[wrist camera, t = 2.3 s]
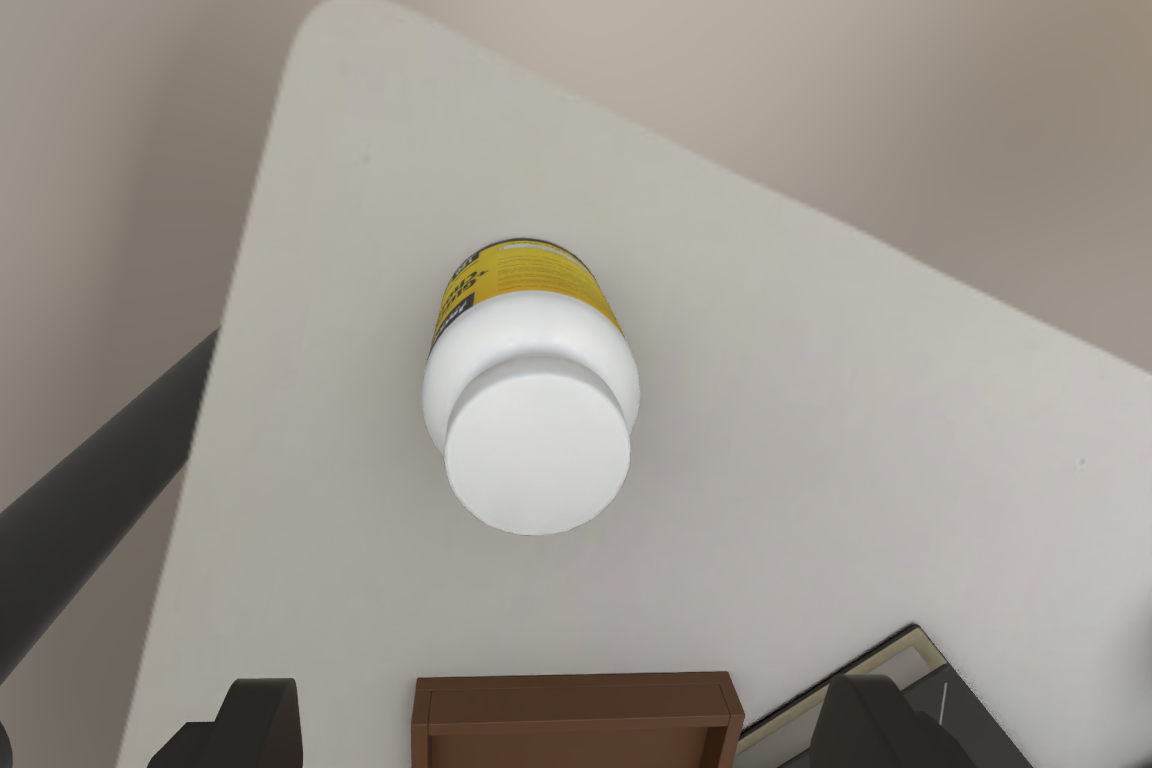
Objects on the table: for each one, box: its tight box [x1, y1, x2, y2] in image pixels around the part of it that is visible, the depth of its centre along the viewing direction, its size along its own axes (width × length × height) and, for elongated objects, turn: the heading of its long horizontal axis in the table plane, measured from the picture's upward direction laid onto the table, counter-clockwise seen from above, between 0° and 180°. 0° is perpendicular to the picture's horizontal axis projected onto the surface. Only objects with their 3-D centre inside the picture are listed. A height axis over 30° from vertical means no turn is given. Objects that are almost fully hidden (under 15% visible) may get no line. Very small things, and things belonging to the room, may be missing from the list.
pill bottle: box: [422, 238, 640, 536], centre depth 22 cm, size 6×6×12 cm
